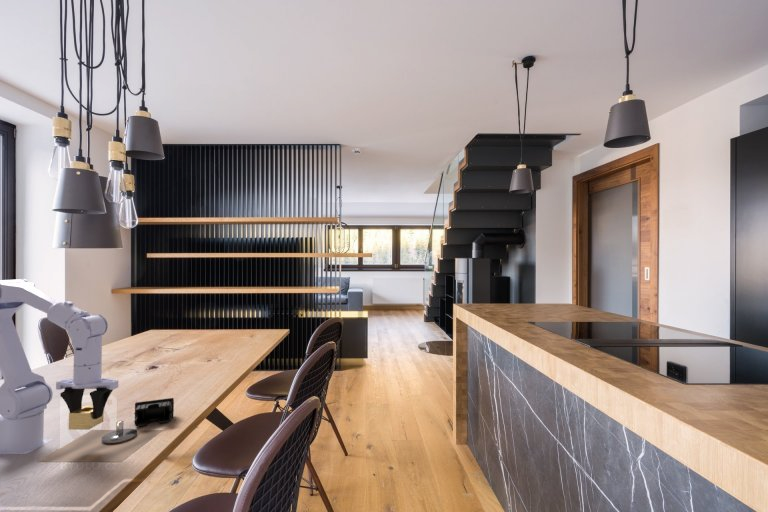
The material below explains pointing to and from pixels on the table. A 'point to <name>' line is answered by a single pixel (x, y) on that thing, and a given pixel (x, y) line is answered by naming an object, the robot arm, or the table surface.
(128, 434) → the stand
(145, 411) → the end cap
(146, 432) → the board
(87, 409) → the collar
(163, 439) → the table surface
